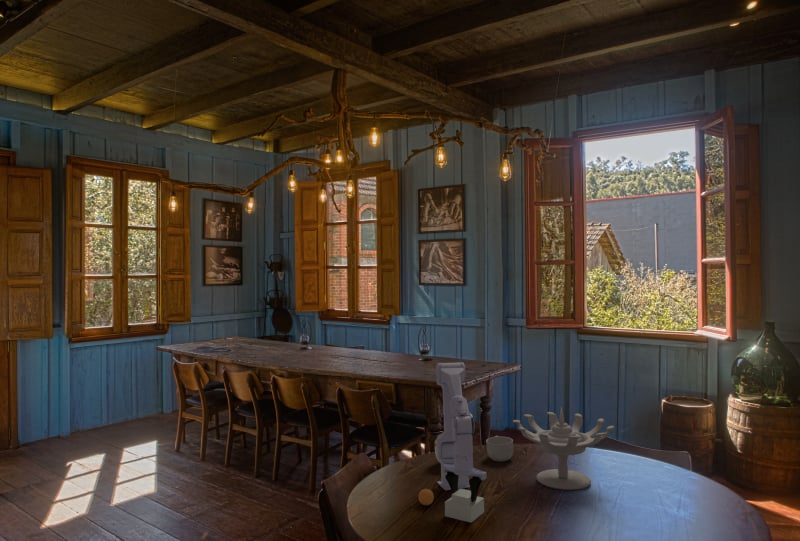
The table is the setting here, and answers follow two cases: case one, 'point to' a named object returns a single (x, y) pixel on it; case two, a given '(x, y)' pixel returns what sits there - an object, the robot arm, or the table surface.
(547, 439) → the candelabra
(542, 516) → the table surface
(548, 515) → the table surface
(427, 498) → the ball
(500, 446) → the teacup
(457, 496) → the white block
